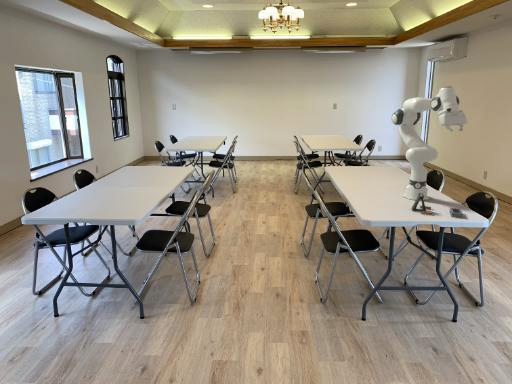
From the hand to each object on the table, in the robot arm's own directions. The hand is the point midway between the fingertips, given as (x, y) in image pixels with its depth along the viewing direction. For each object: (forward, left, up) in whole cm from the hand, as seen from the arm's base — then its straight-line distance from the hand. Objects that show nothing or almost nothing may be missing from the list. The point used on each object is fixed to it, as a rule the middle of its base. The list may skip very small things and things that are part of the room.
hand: (456, 131), depth 244 cm
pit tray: (+2, +8, -54) cm, 55 cm away
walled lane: (+2, -11, -54) cm, 55 cm away
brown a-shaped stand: (+2, -15, -54) cm, 57 cm away
